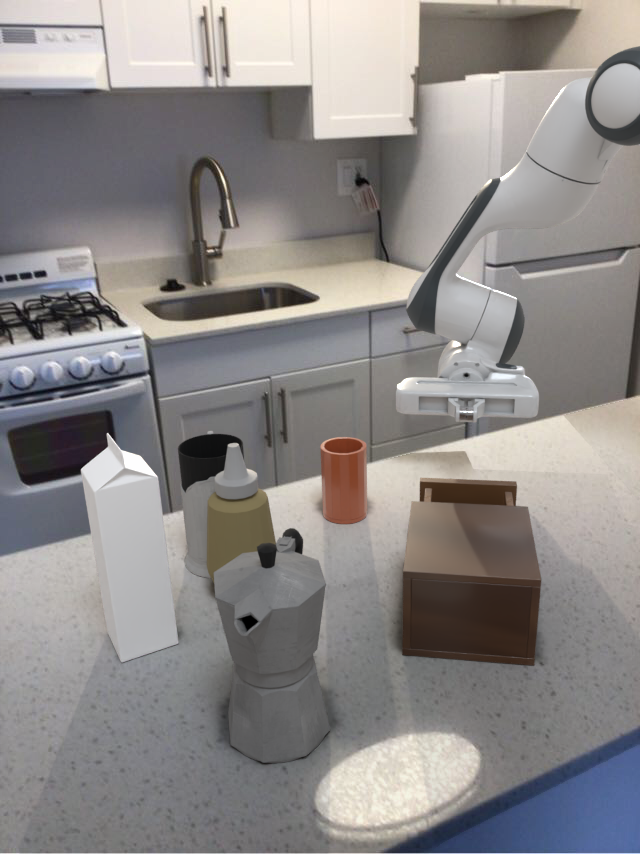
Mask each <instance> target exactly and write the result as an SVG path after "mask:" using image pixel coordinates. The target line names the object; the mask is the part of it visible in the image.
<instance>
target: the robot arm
mask: <svg viewBox="0 0 640 854" xmlns="http://www.w3.org/2000/svg"><path fill="white" fill-rule="evenodd" d="M625 146H626V147H631V146H640V45H639V46H633V47H629V48H626V49H623V50H620V51H618V52H616V53H615V54H613V55H611V56H609V57H607V58H606V59H605V60H604V61H603V62H602V63H601V64H600V65H599V66H598V67H597V68H596V70H595V71H594V73H593V74H592V76H591V77H581V78H576V79H574V80H572V81H569V82H568V83H566V85H564V87H562V88H561V90H560V91H559V93H558V94H557V95H556V97H555V98H554V100H553V101H552V102H551V104H550V105H549V108H547V110H546V112H545V114H544V115H543V117H542V119H541V120H540V122H539V124H538V126H537V127H536V129H535V131H534V133H533V135H532V137H531V139H530V140H529V143H528V145H527V147H526V149H525V152H524V153H523V156H522V157H521V159H520V160H519V162H518V163H517V164H516V165H515V166H514V167H513V168H512V169H511V170H510V171H509V172H507V173H506V174H505V175H503V176H501V177H495V178H491V179H489V180H488V181H487V182H486V183H485V184H484V185H483V186H482V187H481V188H480V190H479V191H477V193H476V195H475V196H474V198H473V199H472V201H470V203H469V205H468V206H467V208H466V209H465V211H464V212H463V213H462V215H461V217H460V218H459V219H458V222H457V223H456V224H455V226H454V228H452V231H450V234H449V235H448V237H447V238H446V240H445V241H444V242H443V244H442V246H441V247H440V249H439V251H438V252H437V253H436V255H435V257H434V258H433V260H432V261H431V262H430V264H429V265H428V266H427V268H426V270H425V271H424V272H423V273H422V274H421V275H420V276H419V277H418V278H417V280H416V281H415V283H414V284H413V285H412V287H411V289H410V291H409V294H408V295H407V296H408V297H407V299H406V300H407V301H406V307H405V311H406V314H407V316H408V318H409V320H410V323H412V325H413V327H414V328H415V329H416V330H417V331H421V332H425V333H429V334H432V335H438V336H441V337H443V338H446V339H449V340H450V341H449V342H448V343H447V344H446V345H445V347H444V349H442V350H443V351H442V352H441V354H440V357H439V360H438V364H437V375H436V377H429V376H428V377H425V376H424V377H423V376H421V377H420V376H413V377H406V378H404V379H403V380H401V382H400V383H398V384H397V385H396V389H395V411H396V412H397V413H399V414H401V415H402V414H403V415H420V416H421V415H423V416H450V417H452V418H454V420H455V423H459V422H460V423H477V422H478V419H480V418H482V417H485V418H487V417H488V418H514V419H515V418H519V419H532V418H533V419H534V418H535V417H537V416H538V414H539V405H540V393H539V392H540V391H539V389H538V387H537V386H536V383H535V382H534V381H533V379H532V378H530V377H529V376H527V375H526V368H525V367H523V366H521V365H515V364H510V363H509V361H511V360H512V357H513V356H514V354H515V353H516V351H517V349H518V347H519V344H520V342H521V340H522V336H523V334H524V329H525V322H526V318H525V312H524V309H523V306H522V303H521V301H520V299H518V298H517V297H515V296H512V295H511V294H507V293H505V292H502V291H499V290H497V289H494V288H492V287H488V286H485V285H483V284H481V283H477V282H474V281H472V280H469V279H467V278H465V277H461V276H460V275H459V274H458V272H459V271H460V269H461V268H462V266H463V264H464V263H465V262H466V260H467V259H468V257H469V256H470V254H471V253H472V251H473V250H474V248H475V247H476V246H477V244H478V243H479V242H480V240H481V239H482V238H484V237H485V236H487V235H488V234H490V233H493V232H497V231H502V230H512V229H517V230H518V229H519V230H520V229H524V230H525V229H526V230H527V229H529V230H530V229H531V230H543V229H550V228H555V227H559V226H562V225H564V224H566V223H569V222H571V221H573V220H574V219H576V218H577V217H578V216H579V215H581V214H582V213H583V211H584V210H585V209H586V208H587V206H588V205H589V203H590V202H591V200H592V198H593V197H594V196H595V194H596V192H597V190H598V188H599V186H600V185H601V184H602V181H603V179H604V177H605V175H606V173H607V172H608V169H609V167H610V165H611V163H612V161H613V160H614V159H615V157H616V155H617V154H618V153H619V151H621V150H622V148H624V147H625Z"/></svg>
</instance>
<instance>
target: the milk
mask: <svg viewBox="0 0 640 854" xmlns="http://www.w3.org/2000/svg"><path fill="white" fill-rule="evenodd" d="M106 439H107V447H106V448H105V449H104V450H102V451H101V452H100V453H99V454H96V456H95V457H94V458H92V459H91V460H89V462H87V463H86V464H85V465H84V466H83V467H82V468H81V469H80V475H81V481H82V486H83V493H84V499H85V504H86V511H87V512H86V513H87V517H88V524H89V529H90V536H91V542H92V548H93V554H94V559H95V566H96V567H95V568H96V572H97V578H98V585H99V591H100V597H101V603H102V609H103V610H102V611H103V615H104V621H105V627H106V633H107V634H108V636H109V639H110V641H111V643H112V645H113V647H114V650H115V652H116V654H117V656H118V659H119V661H120V663H126V662H128V661H131V660H135V659H138V658H139V657H144V656H146V655H149V654H152V653H155V652H159V651H160V650H164V649H167V648H170V647H173V646H175V645H178V644H179V636H178V627H177V618H176V611H175V602H174V594H173V587H172V578H171V571H170V569H171V568H170V561H169V554H168V547H167V538H166V529H165V522H164V521H165V520H164V513H163V506H162V498H161V497H162V496H161V489H160V481H159V476H158V475H157V474H156V473H155V472H154V470H153V469H152V468H151V466H150V465H148V463H147V462H146V461H145V460H144V458H143V457H142V456H141V455H139V454H136V453H132V452H129V451H126V450H123V449H121V448H120V446H119V445H118V444H117V443H116V441H115V440H114V438H112V436H111V435H110V434H109V432H107V433H106Z"/></svg>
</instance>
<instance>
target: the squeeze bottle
mask: <svg viewBox="0 0 640 854" xmlns="http://www.w3.org/2000/svg"><path fill="white" fill-rule="evenodd" d="M214 483H215V491H216V492H214V493H213V494H212V495H211V496H210V497H209V499H208V507H207V569H208V573H209V575H210V577H211V578H210V580H212V583H213V584H214V572H215V571H217V570H218V569H220V568H221V567H223V566H224V565H226V564H227V563H229V562H230V561H232V560H233V559H235V558H236V557H238V556H239V555H241V554H242V553H249V552H257V546H259V545H260V544H262V543H272V544H276V543H277V541H276V535H275V530H274V525H273V519H272V513H271V507H270V502H269V496H268V495H267V492H266V491H264V490H263V489H261V488H259V487H260V485H259V475H258V473H257V472H256V471H254V470H252V469H250V468H247V466H246V463H245V458H244V459H243V456H242V453H241V450H240V447H239V444H238V443H231V444H228V448H227V454H226V461H225V468H224V471H222V472H220V473H218V474H217V475H216V477H215V478H214Z"/></svg>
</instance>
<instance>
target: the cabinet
mask: <svg viewBox="0 0 640 854" xmlns="http://www.w3.org/2000/svg"><path fill="white" fill-rule="evenodd" d="M406 534H407V535H406V542H405V550H404V560H403V567H402V621H401V622H402V624H401V625H402V627H401V628H402V630H401V631H402V633H401V635H402V637H401V638H402V642H401V644H402V646H401V647H402V648H401V649H402V650H401V654H402V656H408V657H420V658H421V657H422V658H433V659H435V658H436V659H444V660H445V659H446V660H457V661H472V662H482V663H483V662H484V663H486V662H487V663H494V664H495V663H496V664H497V663H498V664H509V665H510V664H511V665H521V666H522V665H523V666H533V667H534V666H535V661H536V651H537V650H536V649H537V637H538V626H539V613H540V602H541V590H542V589H541V588H542V576H541V571H540V564H539V559H538V553H537V547H536V544H535V538H534V532H533V527H532V521H531V515H530V509H529V506H526V505H525V506H523V505H516V506H506V505H484V504H462V503H440V502H420V500H419V501H417V500H412V501H411V504H410V512H409V519H408V528H407V533H406Z"/></svg>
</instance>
